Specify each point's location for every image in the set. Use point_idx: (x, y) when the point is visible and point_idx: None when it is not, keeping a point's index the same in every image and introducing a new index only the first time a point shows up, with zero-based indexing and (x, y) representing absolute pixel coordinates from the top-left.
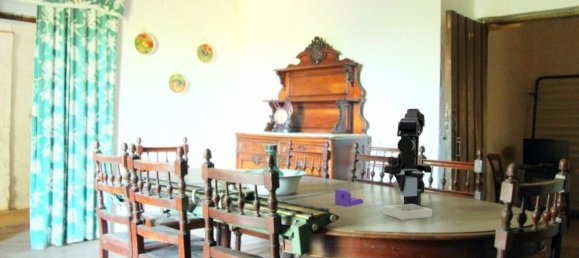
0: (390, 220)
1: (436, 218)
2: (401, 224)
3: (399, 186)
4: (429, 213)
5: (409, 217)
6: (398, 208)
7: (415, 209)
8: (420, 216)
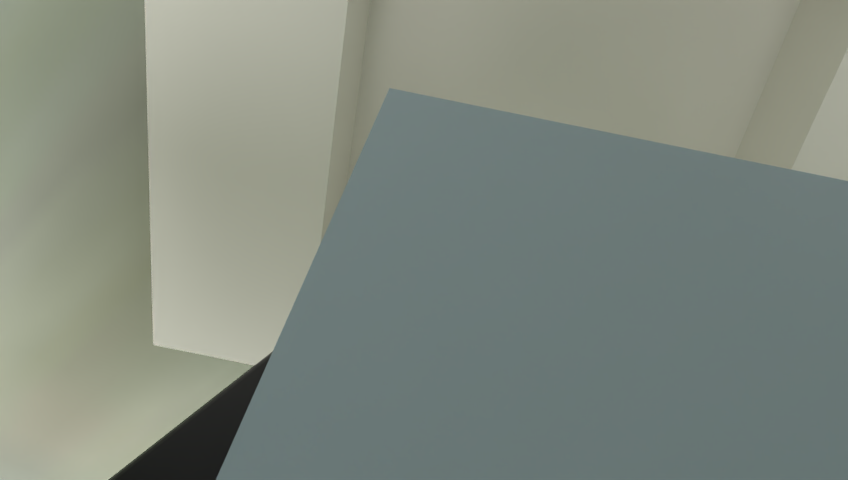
0: (16, 208)
1: None
2: (39, 414)
3: (155, 473)
4: None
5: None
6: (297, 121)
7: None
8: None
